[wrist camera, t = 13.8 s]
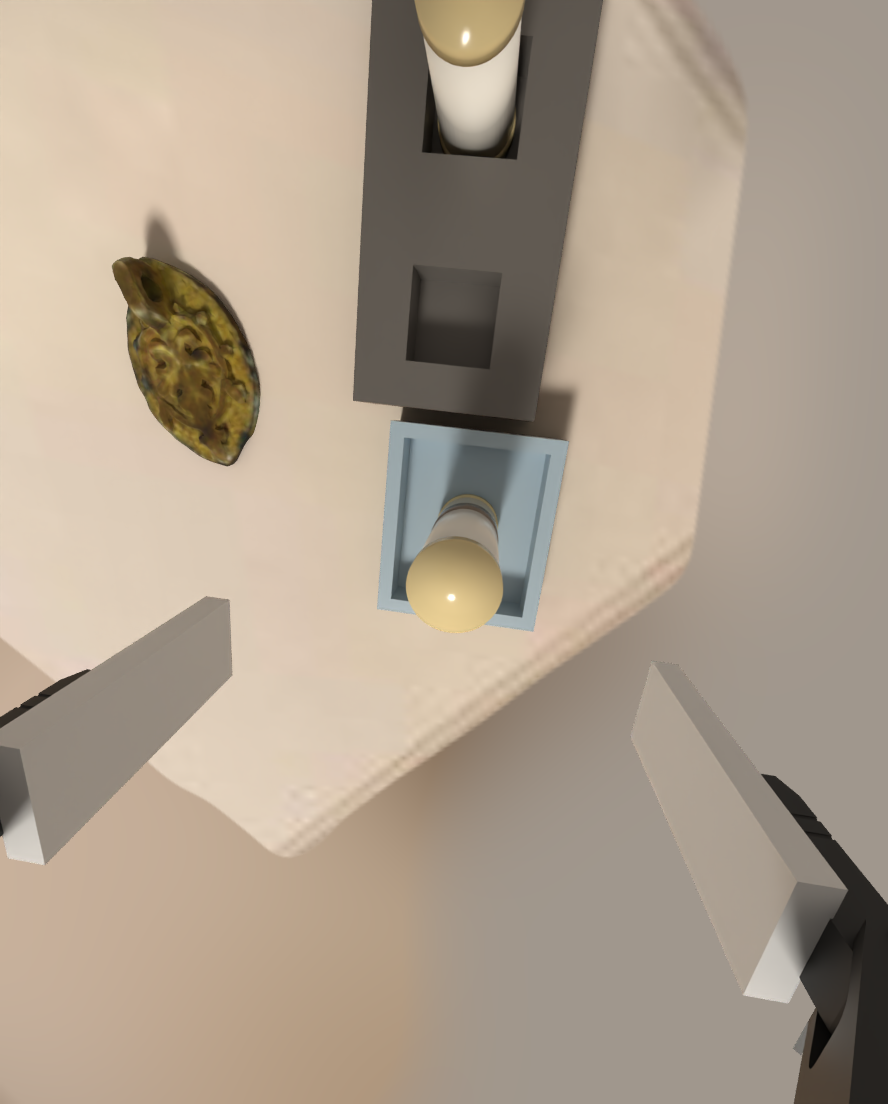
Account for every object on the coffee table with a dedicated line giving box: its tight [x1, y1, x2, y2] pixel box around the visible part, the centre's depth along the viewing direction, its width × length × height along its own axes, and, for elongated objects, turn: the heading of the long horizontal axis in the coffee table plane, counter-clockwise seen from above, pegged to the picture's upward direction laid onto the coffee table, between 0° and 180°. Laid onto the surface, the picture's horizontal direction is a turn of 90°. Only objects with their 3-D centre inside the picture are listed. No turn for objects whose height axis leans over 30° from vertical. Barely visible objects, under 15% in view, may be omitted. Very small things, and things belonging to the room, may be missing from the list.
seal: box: [112, 257, 260, 466], centre depth 33 cm, size 9×5×15 cm
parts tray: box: [377, 421, 569, 631], centre depth 34 cm, size 14×12×3 cm
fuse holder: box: [353, 0, 603, 421], centre depth 28 cm, size 22×12×4 cm, turn 174°
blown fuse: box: [406, 494, 503, 633], centre depth 28 cm, size 5×5×14 cm
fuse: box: [415, 0, 525, 159], centre depth 23 cm, size 5×5×10 cm
